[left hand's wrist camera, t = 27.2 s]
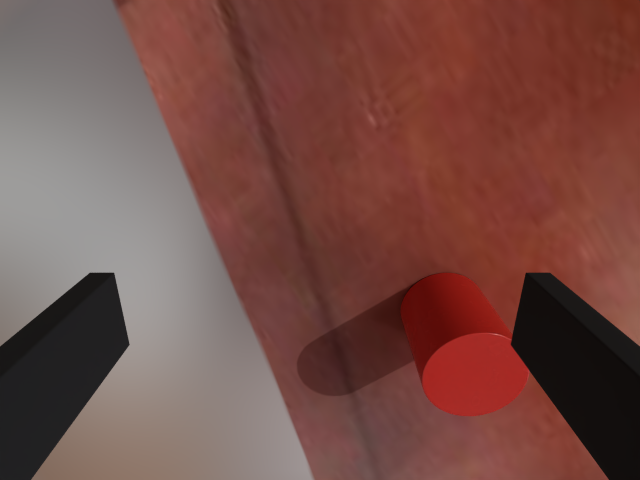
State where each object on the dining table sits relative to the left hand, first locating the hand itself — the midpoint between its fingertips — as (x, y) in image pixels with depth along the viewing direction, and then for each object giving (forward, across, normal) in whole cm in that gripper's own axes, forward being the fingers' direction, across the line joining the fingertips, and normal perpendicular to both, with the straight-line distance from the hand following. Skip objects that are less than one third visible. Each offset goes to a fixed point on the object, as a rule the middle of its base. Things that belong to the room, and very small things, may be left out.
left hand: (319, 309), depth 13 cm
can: (+20, +11, -12) cm, 25 cm away
